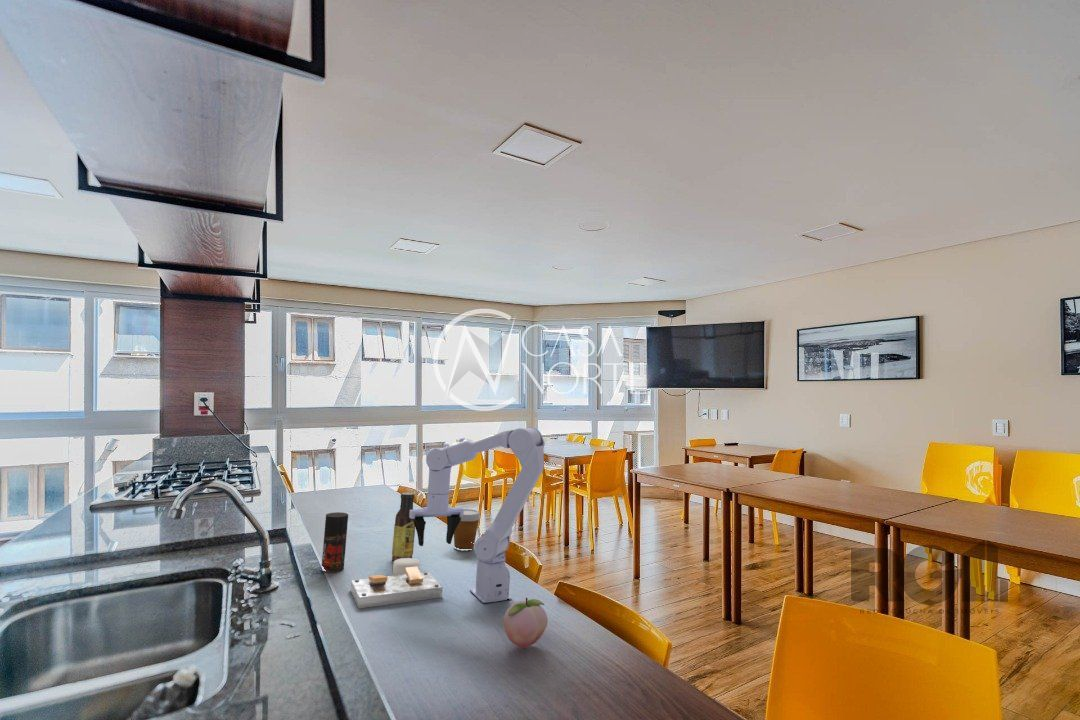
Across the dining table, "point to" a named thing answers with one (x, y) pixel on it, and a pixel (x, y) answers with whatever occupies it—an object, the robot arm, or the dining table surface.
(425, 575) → the breaker panel
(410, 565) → the white egg-shaped stone
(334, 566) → the deodorant
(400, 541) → the sauce bottle
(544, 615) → the decorative fruit
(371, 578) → the paddle
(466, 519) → the disposable coffee cup
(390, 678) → the dining table surface
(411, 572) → the paddle
